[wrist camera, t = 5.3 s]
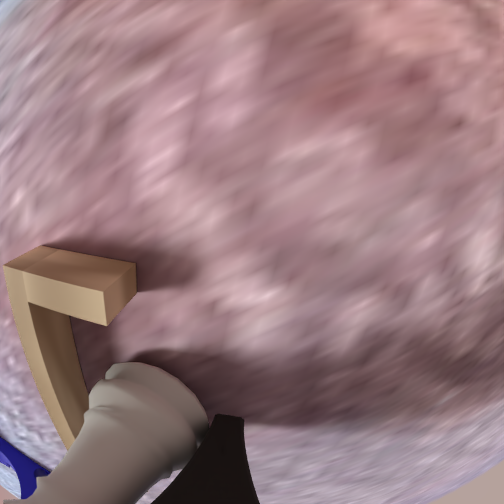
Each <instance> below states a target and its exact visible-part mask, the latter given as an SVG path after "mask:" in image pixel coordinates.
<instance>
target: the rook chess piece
mask: <svg viewBox="0 0 504 504" xmlns="http://www.w3.org/2000/svg"><path fill="white" fill-rule="evenodd" d="M208 430H209V423H208V418H207V415H206V412H205V409H204V408H203V406H202V405H201V403H200V401H199V400H198V398H197V397H196V395H195V394H194V393H193V392H192V391H191V390H190V389H189V388H188V387H187V386H186V385H184V384H183V383H182V382H181V381H180V380H179V379H178V378H176V377H174V376H173V375H171V374H169V373H167V372H166V371H164V370H162V369H161V368H159V367H155V366H152V365H148V364H145V363H141V362H126V363H117V364H113V365H112V366H111V368H110V369H109V370H108V371H107V372H106V375H105V379H100V380H99V381H98V382H97V383H96V385H95V386H94V387H93V388H92V390H91V392H90V394H89V410H88V411H86V412H85V413H84V424H83V426H82V429H81V431H80V433H79V435H78V436H77V438H76V439H75V441H74V442H73V444H72V445H71V447H70V448H69V450H68V451H67V453H66V455H65V456H64V458H63V459H62V461H61V462H60V463H59V464H58V465H57V467H56V468H55V469H54V470H53V471H52V472H51V473H50V474H49V475H48V476H46V477H36V478H37V489H36V490H35V492H34V493H33V495H31V496H30V497H29V498H27V499H18V500H3V503H4V504H135V503H136V502H137V501H138V500H139V499H140V498H141V497H142V496H143V495H144V494H145V493H146V492H147V491H148V490H149V489H150V488H151V487H152V486H153V485H154V484H156V483H157V482H158V481H160V480H161V479H165V478H169V477H170V475H171V474H172V472H173V471H176V470H181V469H183V468H184V467H185V466H186V465H187V463H188V462H189V461H190V459H191V458H192V456H193V455H194V453H195V452H196V450H197V449H198V447H199V446H200V444H201V443H202V441H203V439H204V438H205V436H206V434H207V432H208Z"/></svg>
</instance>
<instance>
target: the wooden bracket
mask: <svg viewBox="0 0 504 504" xmlns="http://www.w3.org/2000/svg"><path fill="white" fill-rule="evenodd" d="M3 269H4V275H5V280H6V285H7V290H8V295H9V299H10V303H11V307H12V312H13V315H14V319H15V323H16V327H17V330H18V334H19V337H20V340H21V343H22V347H23V350H24V353H25V356H26V359H27V362H28V364H29V367H30V370H31V373H32V375H33V378H34V380H35V383H36V386H37V388H38V390H39V393H40V395H41V398H42V400H43V402H44V404H45V407H46V409H47V411H48V413H49V415H50V418H51V420H52V422H53V424H54V426H55V428H56V430H57V432H58V434H59V436H60V438H61V439H62V441H63V443H64V445H65V447H66V449H67V450H69V448H70V447H71V445H72V444H73V442H74V441H75V439H76V438H77V436H78V435H79V433H80V431H81V429H82V426H83V424H84V413H85V412H86V411H88V410H89V396H88V392H87V389H86V386H85V382H84V379H83V375H82V371H81V368H80V364H79V360H78V356H77V351H76V347H75V343H74V338H73V333H72V329H71V323H70V318H69V315H70V316H73V317H76V318H80V319H83V320H87V321H90V322H94V323H97V324H101V325H104V326H108V325H109V323H110V322H111V321H112V320H113V319H114V318H115V317H116V316H117V314H118V313H119V312H120V311H121V310H122V309H123V308H124V307H125V306H126V305H127V303H128V302H129V301H130V300H131V299H132V298H133V297H134V296H135V295H136V294H137V285H136V263H132V262H126V261H120V260H115V259H109V258H103V257H98V256H93V255H87V254H82V253H77V252H71V251H66V250H61V249H56V248H51V247H46V246H41V245H40V246H38V247H36V248H34V249H33V250H31V251H29V252H27V253H25V254H23V255H21V256H19V257H17V258H15V259H13V260H12V261H10V262H8V263H6V264H4V265H3ZM147 492H148V491H147Z"/></svg>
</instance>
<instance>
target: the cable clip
mask: <svg viewBox="0 0 504 504" xmlns="http://www.w3.org/2000/svg"><path fill="white" fill-rule="evenodd" d="M0 462H1V463H3V464H5V465H6V466H8V467H9V468H10V466H11V467H12V468H13V469H14V470H15V472H16V473H17V476H18V479H19V482H20V487H21V499H27V498H29V497H30V496H31V495H33V493H34V492H35V490H36V489H37V478H36V477H46V476H48V475H49V474H50V473H51V472H49V471H47V470H46V469H44V468H43V467H41V466H40V465H38V464H37V463H35V462H34V461H32V460H31V459H29V458H28V457H26V456H25V455H24V454H22V453H21V452H20V451H18V450H17V449H15V448H14V447H13V446H11V445H10V444H9V443H8V442H6V441H5V440H4V439H3V438H1V437H0Z"/></svg>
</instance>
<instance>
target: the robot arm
mask: <svg viewBox="0 0 504 504" xmlns="http://www.w3.org/2000/svg"><path fill="white" fill-rule="evenodd" d="M151 504H260V503H259V500H258V497H257V494H256V491H255V488H254V485H253V481H252V477H251V473H250V469H249V465H248V460H247V455H246V449H245V441H244V419H243V418H241V417H235V416H229V415H223V414H217V415H215V417H214V420H213V422H212V424H211V426H210V429H209V430H208V432H207V434H206V436H205V438H204V439H203V441H202V443H201V444H200V446H199V447H198V449H197V450H196V452H195V453H194V455H193V456H192V458H191V459H190V461H189V462H188V463H187V465H186V466H185V467H184V468H183V470H182V471H181V472H180V473H179V475H178V476H177V477H176V478H175V479H174V481H173V482H172V483H171V484H170V485H169V486H168V487H167V488H166V489H165V490H164V491H163V492H162V493H161V494H160V495H159V496H158V497H157V498H156V499H155V500H154V501H153V502H152V503H151Z"/></svg>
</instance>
